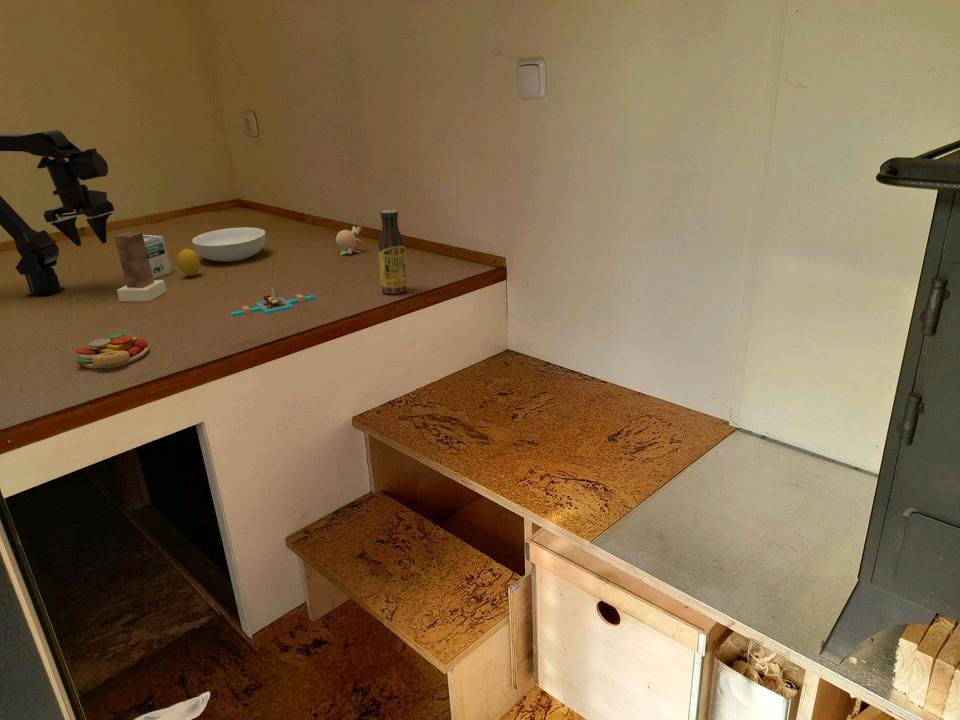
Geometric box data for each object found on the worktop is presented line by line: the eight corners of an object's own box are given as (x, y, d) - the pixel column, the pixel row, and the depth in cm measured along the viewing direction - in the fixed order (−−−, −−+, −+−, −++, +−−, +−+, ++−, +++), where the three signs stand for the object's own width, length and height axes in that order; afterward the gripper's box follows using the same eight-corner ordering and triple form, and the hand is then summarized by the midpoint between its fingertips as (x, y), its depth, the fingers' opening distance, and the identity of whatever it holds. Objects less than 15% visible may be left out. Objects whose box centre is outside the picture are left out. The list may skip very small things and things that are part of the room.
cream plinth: (119, 301, 173) (116, 290, 172) (138, 291, 181) (135, 280, 179) (149, 301, 172) (146, 290, 171) (166, 291, 180) (164, 280, 178)
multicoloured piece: (226, 311, 164) (236, 322, 157) (221, 290, 162) (232, 300, 155) (307, 294, 174) (320, 303, 167) (303, 273, 172) (317, 282, 164)
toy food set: (111, 376, 132) (107, 360, 131) (61, 368, 137) (57, 353, 135) (164, 349, 143) (160, 335, 142) (116, 343, 148) (112, 329, 147)
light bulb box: (172, 272, 196) (164, 235, 191) (153, 279, 190) (144, 241, 186) (145, 269, 200) (136, 233, 196) (126, 276, 194) (116, 238, 190)
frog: (371, 234, 207) (359, 233, 213) (350, 220, 202) (338, 219, 207) (358, 263, 206) (345, 262, 211) (336, 250, 200) (324, 249, 206)
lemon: (195, 279, 188) (189, 251, 185) (177, 279, 189) (170, 250, 186) (206, 273, 193) (200, 245, 190) (188, 273, 194) (182, 245, 191)
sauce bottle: (387, 297, 167) (378, 215, 159) (378, 290, 172) (369, 210, 164) (412, 292, 170) (404, 211, 162) (402, 285, 175) (395, 207, 167)
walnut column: (127, 287, 174) (113, 236, 169) (139, 282, 178) (126, 232, 173) (142, 288, 173) (129, 236, 168) (154, 282, 177) (142, 232, 172)
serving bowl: (181, 265, 203) (176, 242, 200) (229, 247, 221) (225, 225, 218) (237, 270, 196) (233, 246, 193) (283, 251, 213) (279, 228, 210)
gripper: (119, 172, 174) (142, 233, 180) (68, 180, 182) (92, 238, 188) (82, 182, 165) (108, 245, 171) (31, 190, 172) (56, 250, 179)
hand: (91, 244), depth 177 cm, fingers open, 9 cm apart
